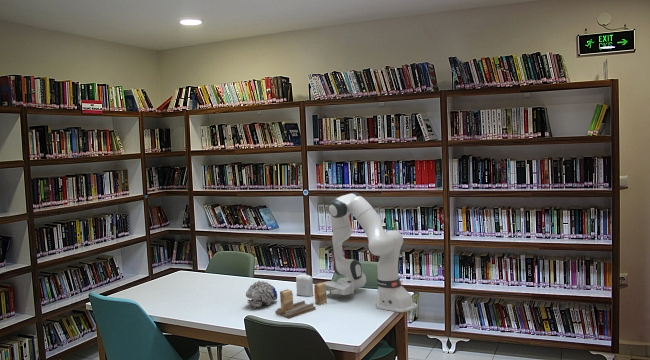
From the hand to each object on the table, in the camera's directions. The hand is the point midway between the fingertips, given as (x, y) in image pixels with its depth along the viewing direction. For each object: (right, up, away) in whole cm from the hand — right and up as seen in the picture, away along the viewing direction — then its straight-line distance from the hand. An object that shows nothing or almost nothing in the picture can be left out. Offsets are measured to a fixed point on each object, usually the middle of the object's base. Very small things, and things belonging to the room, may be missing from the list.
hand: (325, 291), depth 292 cm
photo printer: (-12, -6, +15) cm, 20 cm away
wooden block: (-2, -6, -2) cm, 7 cm away
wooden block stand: (-16, -8, -14) cm, 22 cm away
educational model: (-35, -8, +1) cm, 36 cm away
